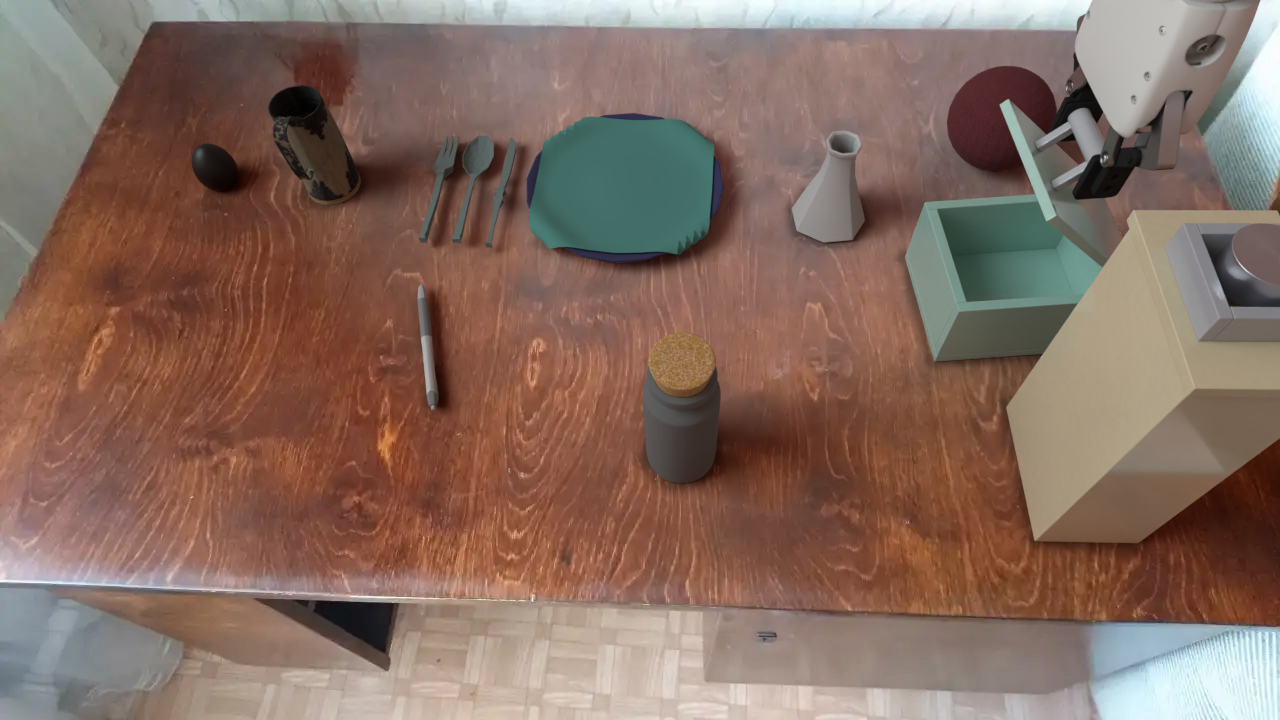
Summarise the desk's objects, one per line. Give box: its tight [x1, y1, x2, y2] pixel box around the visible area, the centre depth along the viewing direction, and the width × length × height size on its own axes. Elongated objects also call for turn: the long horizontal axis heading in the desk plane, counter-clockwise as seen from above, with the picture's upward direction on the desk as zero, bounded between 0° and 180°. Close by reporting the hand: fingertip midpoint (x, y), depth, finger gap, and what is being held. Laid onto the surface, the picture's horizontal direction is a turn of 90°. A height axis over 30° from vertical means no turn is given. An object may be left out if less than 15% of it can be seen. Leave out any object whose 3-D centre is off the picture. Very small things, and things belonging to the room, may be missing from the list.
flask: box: [791, 129, 866, 243], centre depth 82 cm, size 7×7×10 cm
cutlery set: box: [418, 112, 725, 264], centre depth 87 cm, size 20×30×2 cm, turn 85°
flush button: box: [1212, 223, 1280, 307], centre depth 47 cm, size 4×4×2 cm
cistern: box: [1005, 209, 1280, 544], centre depth 59 cm, size 9×13×27 cm
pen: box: [417, 283, 439, 412], centre depth 79 cm, size 1×14×1 cm, turn 12°
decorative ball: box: [946, 65, 1058, 172], centre depth 85 cm, size 10×10×10 cm
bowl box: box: [904, 193, 1102, 363], centre depth 76 cm, size 15×12×8 cm
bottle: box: [642, 332, 722, 484], centre depth 67 cm, size 6×6×15 cm
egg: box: [191, 142, 239, 192], centre depth 89 cm, size 4×4×5 cm
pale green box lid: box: [1000, 99, 1124, 268], centre depth 67 cm, size 16×12×5 cm
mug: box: [267, 84, 362, 206], centre depth 85 cm, size 8×6×12 cm
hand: (1080, 164), depth 65 cm, fingers closed on pale green box lid, 5 cm apart
